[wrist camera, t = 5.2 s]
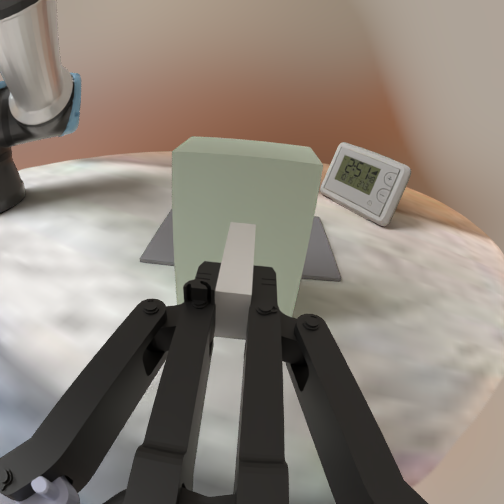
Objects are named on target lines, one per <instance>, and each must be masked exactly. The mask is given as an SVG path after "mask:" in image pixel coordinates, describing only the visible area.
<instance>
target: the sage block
mask: <svg viewBox="0 0 504 504" xmlns="http://www.w3.org/2000/svg"><path fill="white" fill-rule="evenodd" d="M322 169H323V164H322V163H321V161H320V160H319V159H318V157H317V156H316V154H315V153H314V152H313V150H312V149H311V148H310V147H304V146H297V145H289V144H280V143H272V142H262V141H252V140H241V139H228V138H212V137H190V138H189V139H188V140H186V141H185V142H184V143H182V144H181V145H180V146H179V147H177V148H176V149H175V150H173V151H172V215H173V244H174V264H175V281H176V295H177V305H179V304H182V303H183V302H184V293H183V286H184V285H185V283H187V282H188V281H190V280H194V279H195V276H196V274H197V270H198V267H199V266H200V265H201V264H202V263H203V262H204V261H208V262H218V263H221V262H222V258H223V253H224V249H225V244H226V240H227V236H228V231H229V227H230V223H231V222H236V223H247V224H256V231H255V248H254V264H253V265H255V266H266V267H272V268H273V269H274V271H275V272H276V279H277V280H276V281H277V301H278V307H279V309H280V311H281V312H282V313H284V314H285V315H287V316H290V317H292V316H293V311H294V307H295V303H296V299H297V294H298V290H299V285H300V281H301V276H302V272H303V267H304V263H305V258H306V253H307V248H308V243H309V239H310V234H311V229H312V224H313V218H314V213H315V208H316V203H317V197H318V192H319V186H320V181H321V175H322Z"/></svg>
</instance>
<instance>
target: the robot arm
mask: <svg viewBox="0 0 504 504" xmlns="http://www.w3.org/2000/svg"><path fill="white" fill-rule="evenodd" d="M59 50H60V49H59V38H58V24H57V0H0V73H1V75H2V77H3V79H4V81H1V82H0V213H1V212H3V211H5V210H7V209H9V208H11V207H13V206H14V205H16V204H17V203H19V202H20V201H21V200H22V199H23V198H24V196H25V188H24V183H23V181H22V180H21V178H20V175H19V173H18V171H17V168H16V166H15V164H14V162H13V159H12V151H11V146H15V145H18V144H23V143H27V142H31V141H36V140H41V139H45V138H51V137H56V136H59V137H60V136H63V135H66V134H70V133H73V132H74V131H75V130H76V129H77V127H78V124H79V115H80V112H79V111H80V103H81V77H80V75H79V74H78V73H69V71H68V70H67V69H66V68H65V67H64V66H62V65H61V59H60V51H59ZM255 231H256V224H247V223H236V222H231V223H230V227H229V231H228V236H227V240H226V244H225V249H224V253H223V258H222V262H221V263H218V262H208V261H204V262H203V263H202V264H201V265H200V266H199V267H198V270H197V274H196V276H195V279H194V280H190V281H188V282H187V283H185V285H184V286H183V293H184V302H183V303H182V304H179V305H175V306H167V307H166V305H165V304H164V303H163V302H162V301H160V300H158V299H147V300H144V301H142V302H141V303H139V304H138V305H137V306H136V307H135V309H134V310H133V311H132V312H131V313H130V314H129V316H128V317H127V318H126V319H125V320H124V321H123V323H122V324H121V325H120V326H119V327H118V328H117V330H116V331H115V332H114V333H113V334H112V336H111V337H110V338H109V339H108V340H107V342H106V343H105V344H104V345H103V346H102V348H101V349H100V350H99V351H98V352H97V354H96V355H95V356H94V357H93V359H92V360H91V361H90V362H89V363H88V365H87V366H86V367H85V368H84V370H83V371H82V372H81V373H80V375H79V376H78V377H77V378H76V380H75V381H74V382H73V383H72V385H71V386H70V387H69V389H68V390H67V391H66V392H65V394H64V395H63V396H62V397H61V399H60V400H59V401H58V403H57V404H56V405H55V407H54V408H53V409H52V411H51V412H50V413H49V414H48V416H47V417H46V418H45V420H44V421H43V423H42V424H41V425H40V427H39V428H38V429H37V431H36V432H35V433H34V435H33V436H32V437H31V438H30V439H29V440H27V441H26V442H24V443H23V444H21V445H20V446H18V447H16V448H15V449H13V450H12V451H10V452H9V453H7V454H6V455H4V456H3V457H1V458H0V493H1V494H3V495H5V496H7V497H8V498H10V499H12V500H13V501H14V502H15V503H16V504H80V498H79V495H78V492H79V491H81V490H82V488H83V487H84V486H85V485H86V484H87V483H88V482H89V481H90V479H91V478H92V476H93V475H94V474H95V472H96V470H97V469H98V467H99V465H100V464H101V462H102V461H103V459H104V457H105V456H106V454H107V452H108V451H109V449H110V448H111V446H112V444H113V443H114V441H115V439H116V438H117V436H118V435H119V433H120V431H121V430H122V428H123V427H124V425H125V423H126V422H127V420H128V419H129V417H130V415H131V414H132V412H133V411H134V409H135V407H136V406H137V404H138V403H139V401H140V400H141V398H142V396H143V395H144V393H145V392H146V390H147V388H148V387H149V385H150V384H151V382H152V381H153V379H154V377H155V376H156V374H157V373H158V371H159V370H160V368H161V366H162V365H163V363H164V362H165V360H166V362H165V365H164V369H163V372H162V376H161V379H160V383H159V386H158V390H157V394H156V397H155V401H154V405H153V408H152V412H151V416H150V420H149V424H148V427H147V431H146V435H145V439H144V442H143V444H142V445H141V446H139V447H138V449H137V450H136V453H135V457H134V461H133V465H132V469H131V473H130V477H129V481H128V486H127V489H125V490H123V491H121V492H119V493H118V494H116V495H115V496H113V497H112V498H110V499H109V500H108V501H106V502H105V503H103V504H289V476H288V466H287V463H286V462H285V455H284V405H283V372H282V361H284V362H286V366H287V369H288V371H289V374H290V377H291V380H292V383H293V385H294V388H295V391H296V394H297V397H298V399H299V402H300V405H301V408H302V411H303V413H304V416H305V419H306V422H307V425H308V427H309V430H310V433H311V436H312V439H313V441H314V444H315V447H316V450H317V452H318V455H319V458H320V461H321V463H322V466H323V469H324V472H325V475H326V477H327V480H328V483H329V486H330V488H331V491H332V494H333V497H334V499H335V502H336V504H428V503H427V502H426V501H425V500H424V499H423V498H422V497H421V496H420V495H419V494H418V493H417V492H416V491H414V490H413V489H412V488H411V487H410V486H409V485H408V484H407V483H406V482H405V481H404V479H403V477H402V475H401V473H400V471H399V468H398V466H397V464H396V462H395V460H394V458H393V456H392V454H391V451H390V449H389V447H388V445H387V443H386V441H385V439H384V437H383V435H382V433H381V431H380V429H379V427H378V425H377V422H376V420H375V418H374V416H373V414H372V412H371V410H370V408H369V406H368V404H367V402H366V400H365V398H364V396H363V394H362V392H361V390H360V388H359V386H358V384H357V382H356V380H355V378H354V376H353V374H352V372H351V371H350V369H349V367H348V365H347V363H346V361H345V359H344V357H343V355H342V353H341V351H340V349H339V347H338V345H337V343H336V342H335V340H334V338H333V336H332V334H331V332H330V330H329V328H328V326H327V324H326V323H325V321H324V320H323V319H322V318H320V317H319V316H317V315H313V314H304V315H301V316H300V317H298V319H295V318H292V317H290V316H287V315H285V314H284V313H282V312H281V311H280V309H279V307H278V301H277V281H276V280H277V279H276V272H275V271H274V269H273V268H272V267H266V266H255V265H253V264H254V248H255ZM214 336H215V337H224V338H234V339H244V340H246V343H245V351H244V366H243V379H242V392H241V405H240V418H239V431H238V444H237V457H236V470H235V482H234V492H233V494H231V495H224V496H215V497H207V496H204V495H201V494H198V493H196V492H193V473H194V466H195V459H196V452H197V445H198V438H199V432H200V425H201V419H202V412H203V406H204V399H205V393H206V387H207V381H208V375H209V368H210V362H211V356H212V350H213V338H214Z"/></svg>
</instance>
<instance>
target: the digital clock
mask: <svg viewBox="0 0 504 504" xmlns="http://www.w3.org/2000/svg"><path fill="white" fill-rule="evenodd" d="M410 175H411V169H410V168H409V167H408V166H406V165H404V164H401V163H399V162H397V161H394V160H393V159H391V158H388V157H386V156H383V155H380V154H378V153H375V152H372V151H369V150H367V149H364V148H361V147H357V146H354V145H351V144H348V143H345V142H344V143H341V144H340V145H339V146H338V148H337V151H336V153H335V155H334V157H333V160H332V162H331V164H330V167H329V169H328V171H327V173H326V176H325V178H324V180H323V183H322V185H321V189H320V192H321V193H322V194H323V195H325V196H327V197H329V198H331V199H332V201H334V202H336V203H337V204H339V205H341V206H343V207H345V208H347V209H349V210H350V211H352V212H354V213H356V214H358V215H360V216H361V217H363V218H365V219H367V220H371V221H373V222H375V223H377V224H378V225H381V226H387V225H388V224H389V223H390V221H391V219H392V216H393V214H394V212H395V210H396V208H397V206H398V203H399V201H400V199H401V197H402V194H403V192H404V190H405V188H406V185H407V183H408V181H409V178H410Z"/></svg>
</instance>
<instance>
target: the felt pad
mask: <svg viewBox="0 0 504 504" xmlns="http://www.w3.org/2000/svg"><path fill="white" fill-rule="evenodd" d="M140 262H146V263H155V264H164V265H173V266H175V264H174V244H173V215H172V209H171V211H170V212H169V214H168V215H167V217H166V218H165V220H164V222H163V223H162V225H161V226H160V228H159V229H158V231H157V232H156V234H155V235H154V237H153V238H152V240H151V242H150V243H149V245H148V246H147V248H146V250H145V251H144V253H143V254H142V256H141V258H140ZM301 278H307V279H319V280H331V281H340V280H341V276H340V273H339V271H338V268H337V265H336V262H335V259H334V256H333V253H332V251H331V248H330V245H329V242H328V240H327V237H326V234H325V231H324V229H323V226H322V223H321V221H320V218H319V217H316V216H314V218H313V224H312V229H311V234H310V239H309V243H308V248H307V253H306V258H305V263H304V267H303V272H302V276H301Z"/></svg>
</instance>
